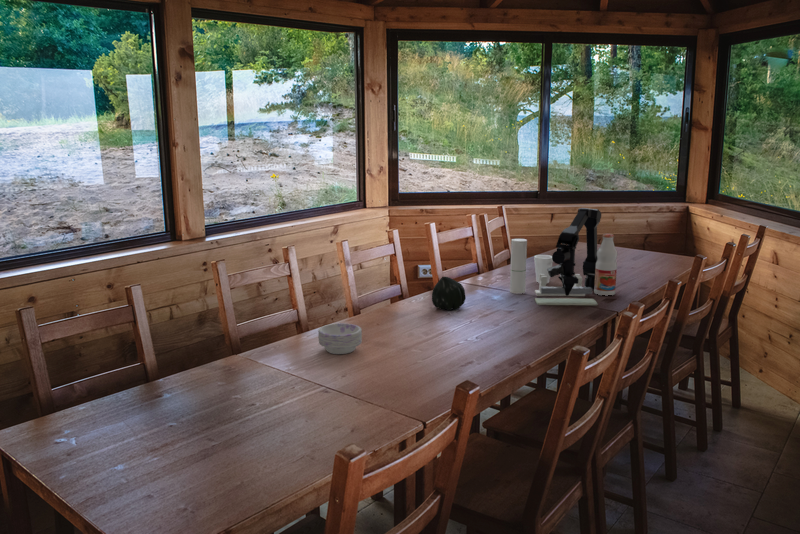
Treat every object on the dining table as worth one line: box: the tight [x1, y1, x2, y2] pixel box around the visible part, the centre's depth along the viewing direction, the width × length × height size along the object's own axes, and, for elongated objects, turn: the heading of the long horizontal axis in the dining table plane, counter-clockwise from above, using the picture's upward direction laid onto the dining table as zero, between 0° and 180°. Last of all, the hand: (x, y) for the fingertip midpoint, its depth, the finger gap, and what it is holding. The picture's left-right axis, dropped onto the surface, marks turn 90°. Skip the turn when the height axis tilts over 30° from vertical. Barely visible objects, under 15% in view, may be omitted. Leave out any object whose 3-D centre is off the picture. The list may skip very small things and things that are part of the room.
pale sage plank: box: [534, 297, 599, 306], centre depth 279 cm, size 26×8×1 cm, turn 87°
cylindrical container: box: [509, 238, 528, 295], centre depth 295 cm, size 7×7×25 cm
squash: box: [431, 276, 467, 311], centre depth 272 cm, size 14×15×15 cm
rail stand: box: [534, 273, 586, 297], centre depth 292 cm, size 22×6×9 cm, turn 87°
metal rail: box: [540, 286, 593, 295], centre depth 278 cm, size 22×3×2 cm, turn 87°
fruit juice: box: [593, 233, 618, 297], centre depth 291 cm, size 9×9×28 cm
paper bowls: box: [317, 322, 363, 355], centre depth 222 cm, size 15×15×8 cm
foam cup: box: [533, 254, 554, 284], centre depth 315 cm, size 10×9×13 cm
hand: (566, 294), depth 279 cm, fingers closed on metal rail, 3 cm apart
